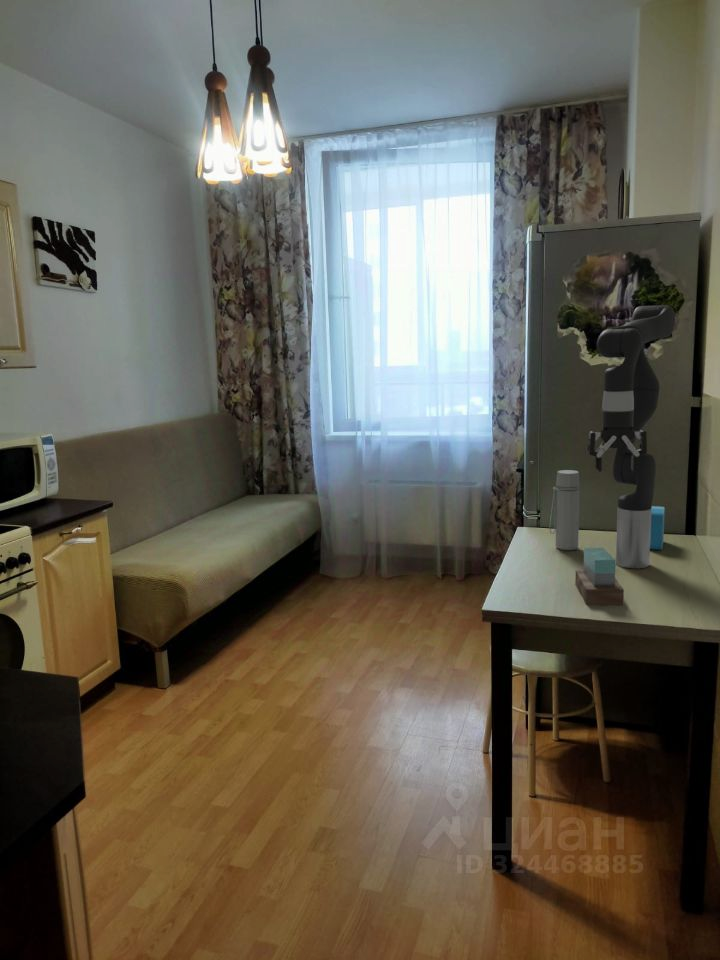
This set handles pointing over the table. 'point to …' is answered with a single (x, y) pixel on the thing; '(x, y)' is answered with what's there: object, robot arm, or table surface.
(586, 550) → the block
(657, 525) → the data package
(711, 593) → the table surface
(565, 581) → the table surface
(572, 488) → the water bottle
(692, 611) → the table surface
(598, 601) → the walnut stand
